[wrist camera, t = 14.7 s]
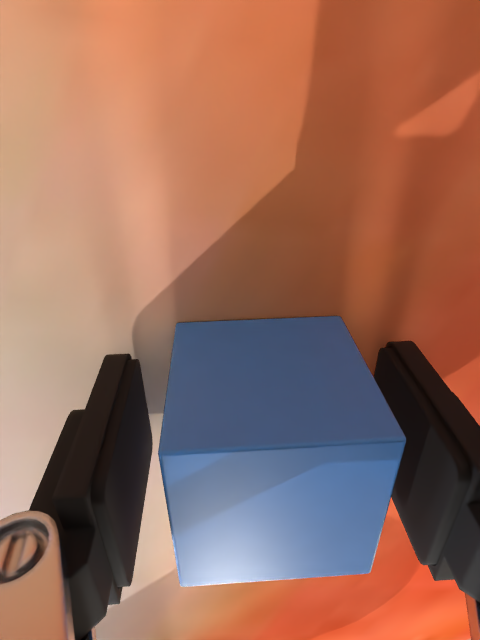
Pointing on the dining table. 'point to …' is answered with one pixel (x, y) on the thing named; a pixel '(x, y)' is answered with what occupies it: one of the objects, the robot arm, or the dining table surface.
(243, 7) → the dining table surface
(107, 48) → the dining table surface
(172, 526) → the blue wooden cube
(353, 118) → the dining table surface
